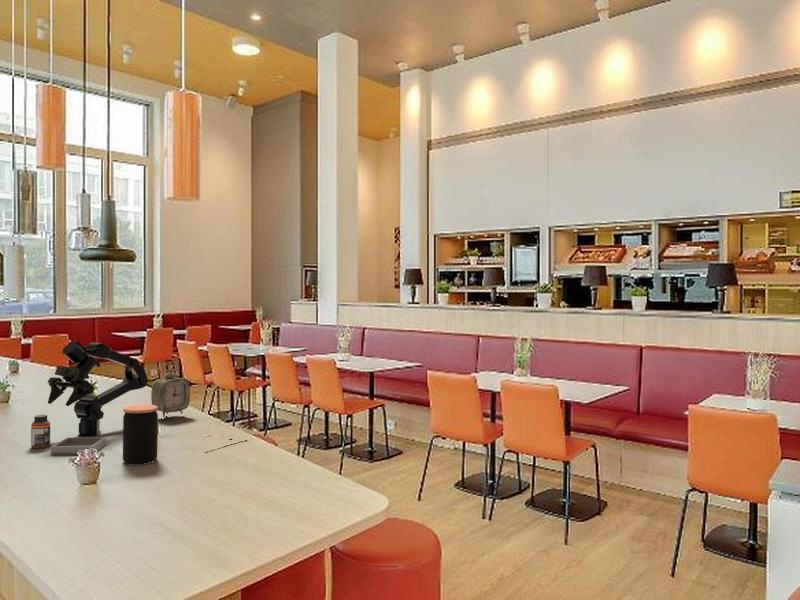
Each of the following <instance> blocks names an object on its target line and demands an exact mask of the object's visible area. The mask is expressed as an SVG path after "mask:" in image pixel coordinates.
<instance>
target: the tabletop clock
mask: <svg viewBox="0 0 800 600" xmlns="http://www.w3.org/2000/svg"><path fill="white" fill-rule="evenodd" d="M171 364H174V365H175V368H174V369H172V368H171V367H170V368H169V369H166V367H167V366H168V365H171ZM163 369H164V371H165V372H167V373H165V375H164V377H163V378H158V379H156V380H154V381H153V382H152V385H151V395H150V398H151V405H156V406H158V410H157V411H159V412H162V417H165V414H168V415H169V413H177V412H180V414H182V413H184V412H183V411H184V410H186V409H188V407H189V405H190V396H191V387H190V382H189V379H187V378H182V377H181V378H180V377H178V376H177V374H176V372H175V371H176V370H177V369H178V364H177V362H174V361H170V362H166V363H165V364H164V366H163ZM157 411H156V412H157Z"/></svg>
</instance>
